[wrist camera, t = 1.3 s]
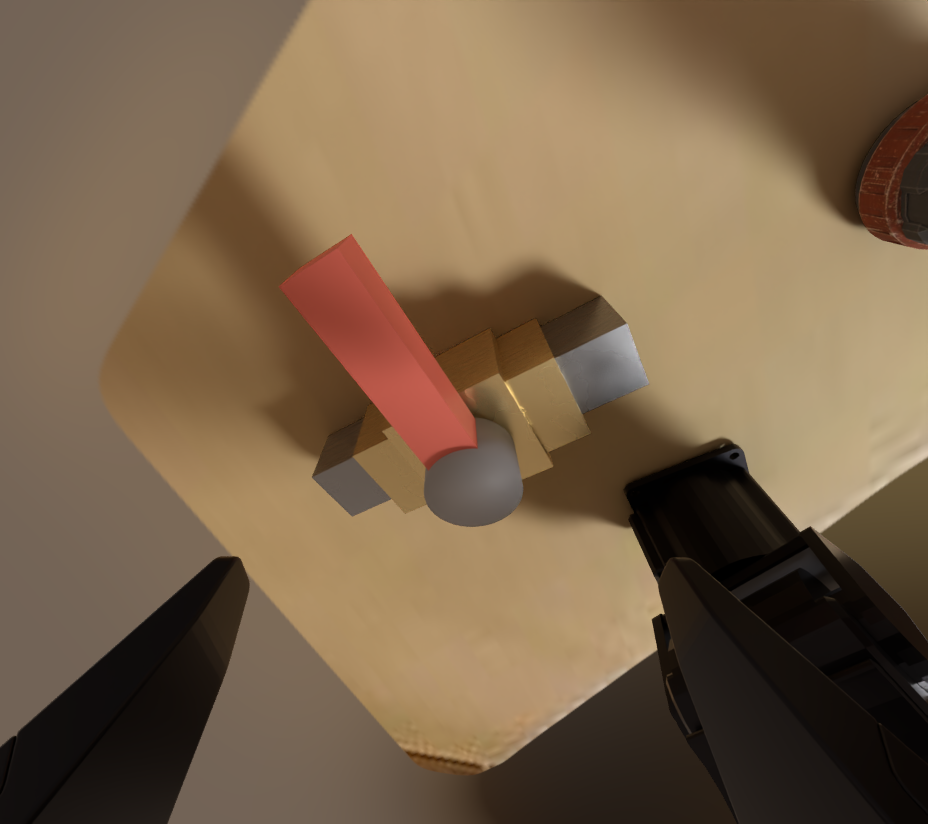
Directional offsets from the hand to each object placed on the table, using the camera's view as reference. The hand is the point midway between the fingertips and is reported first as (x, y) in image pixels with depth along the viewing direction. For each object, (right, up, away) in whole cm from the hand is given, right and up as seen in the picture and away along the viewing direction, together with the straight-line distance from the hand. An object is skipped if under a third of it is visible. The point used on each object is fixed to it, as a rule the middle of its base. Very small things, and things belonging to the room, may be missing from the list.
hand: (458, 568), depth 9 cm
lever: (-1, +4, +6) cm, 8 cm away
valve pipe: (0, +4, +12) cm, 13 cm away
